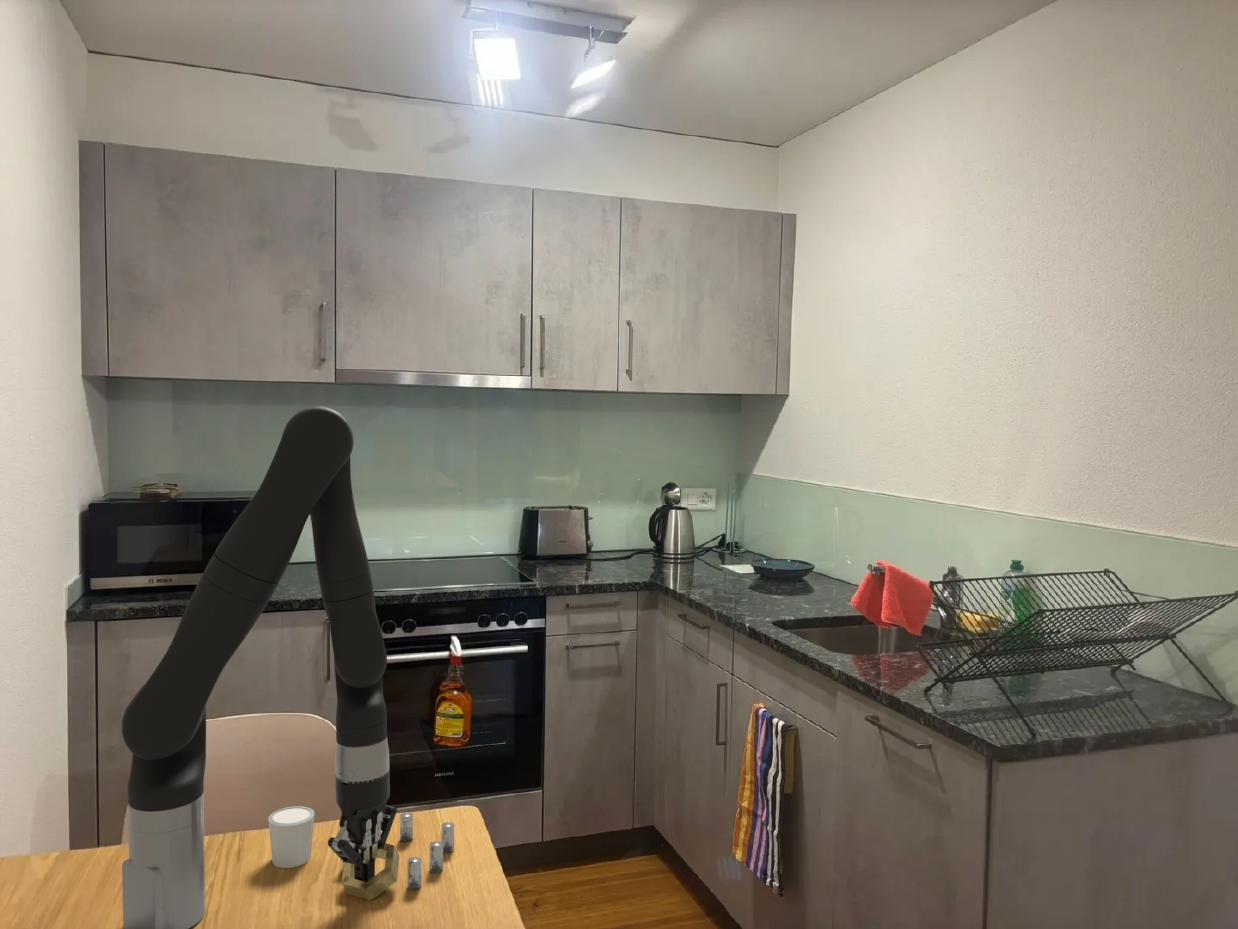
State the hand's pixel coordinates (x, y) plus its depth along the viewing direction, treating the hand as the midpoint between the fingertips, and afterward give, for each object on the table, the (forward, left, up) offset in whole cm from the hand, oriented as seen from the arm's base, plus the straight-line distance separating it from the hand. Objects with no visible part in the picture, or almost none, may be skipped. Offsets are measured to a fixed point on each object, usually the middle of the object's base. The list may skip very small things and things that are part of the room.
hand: (364, 884), depth 133 cm
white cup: (+3, +16, -1) cm, 17 cm away
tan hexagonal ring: (+2, 0, +1) cm, 2 cm away
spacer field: (+10, 0, -1) cm, 10 cm away
